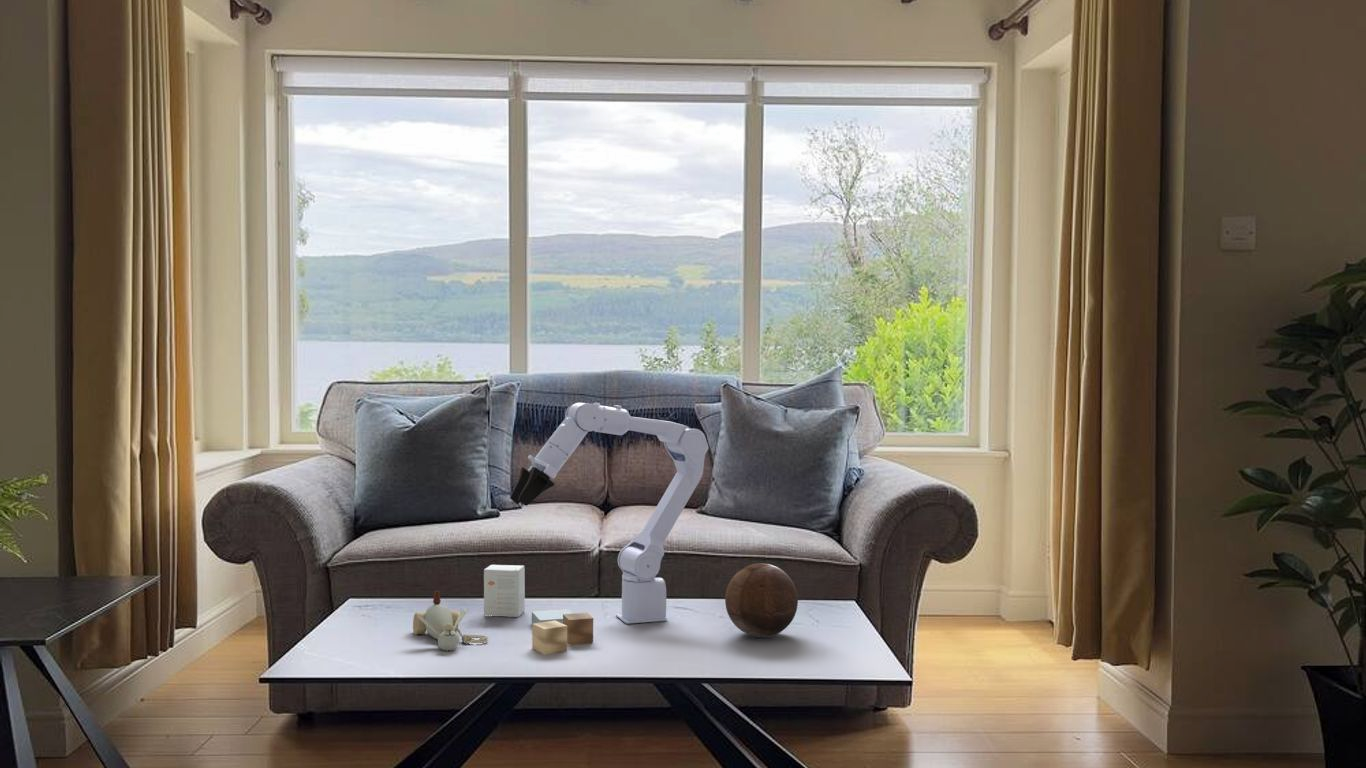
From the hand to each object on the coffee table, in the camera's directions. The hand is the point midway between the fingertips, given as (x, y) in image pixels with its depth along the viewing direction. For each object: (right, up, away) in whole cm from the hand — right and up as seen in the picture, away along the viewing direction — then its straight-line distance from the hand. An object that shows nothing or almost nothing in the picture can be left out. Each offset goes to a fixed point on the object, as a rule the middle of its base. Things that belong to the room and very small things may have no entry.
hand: (517, 502), depth 218 cm
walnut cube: (+13, -28, -5) cm, 31 cm away
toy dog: (-14, -28, -5) cm, 31 cm away
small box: (-6, -27, +16) cm, 32 cm away
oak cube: (+8, -28, -12) cm, 31 cm away
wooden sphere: (+50, -28, +1) cm, 58 cm away
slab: (+7, -28, +6) cm, 29 cm away
